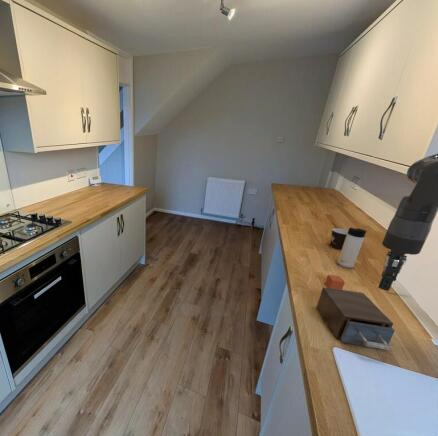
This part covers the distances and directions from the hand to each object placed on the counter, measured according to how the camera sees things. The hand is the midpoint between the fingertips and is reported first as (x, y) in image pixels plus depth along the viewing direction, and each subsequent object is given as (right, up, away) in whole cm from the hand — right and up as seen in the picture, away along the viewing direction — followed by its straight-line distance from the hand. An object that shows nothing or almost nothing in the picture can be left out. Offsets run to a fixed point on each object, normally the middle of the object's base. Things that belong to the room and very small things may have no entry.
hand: (384, 283), depth 70 cm
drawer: (-4, -18, +6) cm, 19 cm away
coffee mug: (+37, +2, +64) cm, 74 cm away
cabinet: (-3, -17, +11) cm, 20 cm away
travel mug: (+27, -4, +47) cm, 54 cm away
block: (+9, -10, +31) cm, 33 cm away
